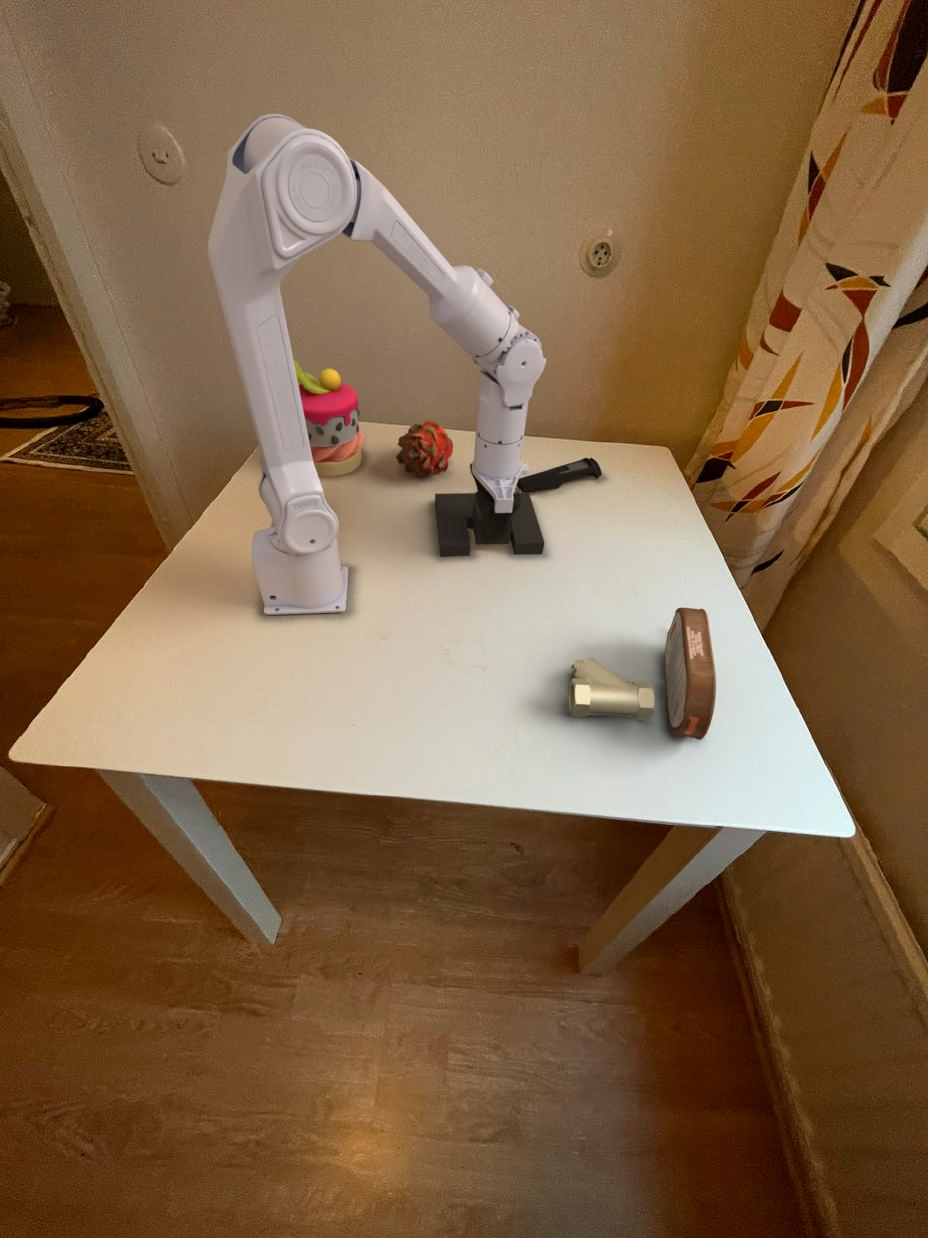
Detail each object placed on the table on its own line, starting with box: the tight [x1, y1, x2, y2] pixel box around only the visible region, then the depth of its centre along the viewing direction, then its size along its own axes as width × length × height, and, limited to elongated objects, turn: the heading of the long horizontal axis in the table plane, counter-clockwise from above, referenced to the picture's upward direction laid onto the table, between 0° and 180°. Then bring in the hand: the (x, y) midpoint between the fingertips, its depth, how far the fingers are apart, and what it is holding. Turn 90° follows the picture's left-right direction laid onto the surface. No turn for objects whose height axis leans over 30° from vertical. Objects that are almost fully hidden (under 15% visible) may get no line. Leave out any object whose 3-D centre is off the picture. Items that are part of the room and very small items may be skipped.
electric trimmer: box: [516, 457, 603, 494], centre depth 87 cm, size 4×16×3 cm, turn 118°
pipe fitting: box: [567, 657, 655, 721], centre depth 59 cm, size 8×4×7 cm
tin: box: [664, 607, 717, 741], centre depth 58 cm, size 15×3×8 cm, turn 168°
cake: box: [294, 360, 365, 477], centre depth 85 cm, size 10×11×15 cm
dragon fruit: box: [396, 419, 454, 479], centre depth 87 cm, size 8×8×12 cm
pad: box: [472, 501, 513, 546], centre depth 75 cm, size 5×5×4 cm
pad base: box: [434, 491, 546, 558], centre depth 79 cm, size 14×12×2 cm
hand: (490, 526), depth 76 cm, fingers closed on pad, 5 cm apart
